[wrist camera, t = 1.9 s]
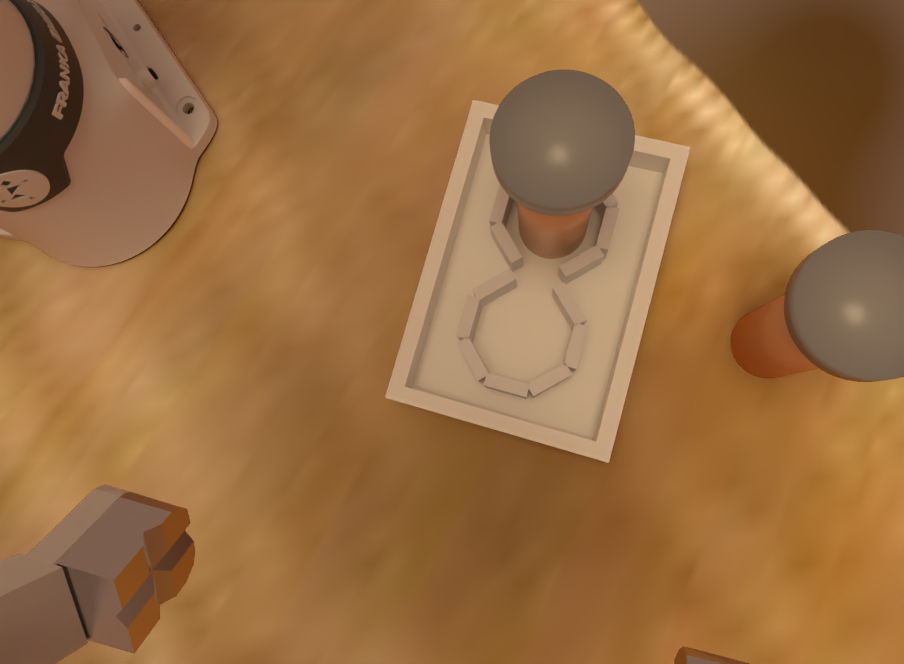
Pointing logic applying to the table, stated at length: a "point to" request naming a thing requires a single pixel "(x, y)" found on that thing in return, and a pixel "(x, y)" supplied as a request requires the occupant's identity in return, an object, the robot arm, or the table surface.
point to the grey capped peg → (560, 154)
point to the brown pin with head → (833, 314)
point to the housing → (535, 303)
